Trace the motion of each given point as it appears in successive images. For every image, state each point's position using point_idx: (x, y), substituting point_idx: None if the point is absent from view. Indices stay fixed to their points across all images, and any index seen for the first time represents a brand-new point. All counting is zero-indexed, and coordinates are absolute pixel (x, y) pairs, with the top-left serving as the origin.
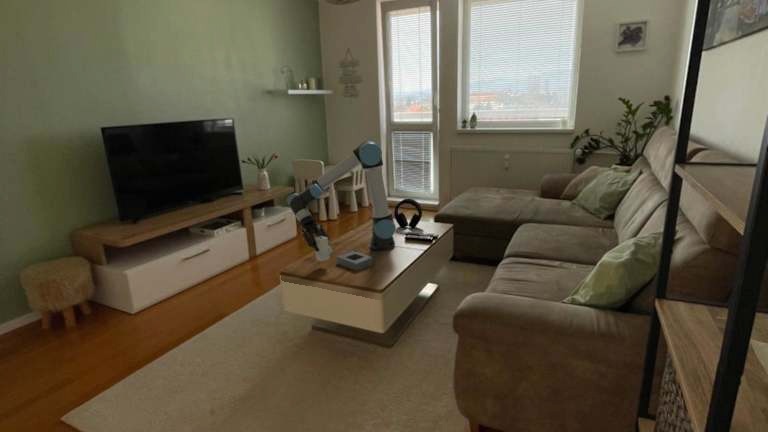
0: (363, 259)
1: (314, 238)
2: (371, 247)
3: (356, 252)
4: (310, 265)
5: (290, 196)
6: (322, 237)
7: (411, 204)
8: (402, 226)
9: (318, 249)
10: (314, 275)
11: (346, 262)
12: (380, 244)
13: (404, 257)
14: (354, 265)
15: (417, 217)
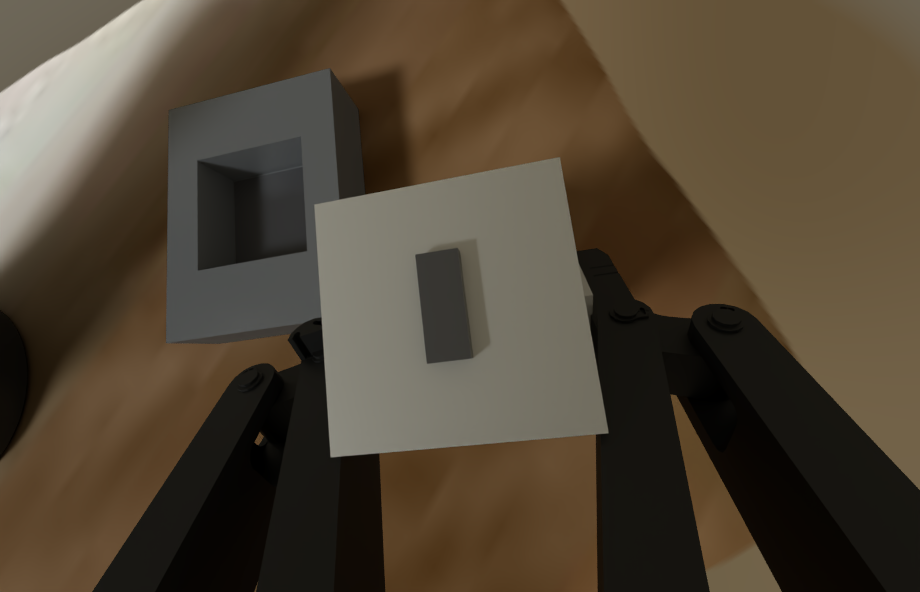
0: (239, 114)
1: (606, 428)
2: (11, 413)
3: (172, 289)
4: (568, 445)
5: None
6: (416, 273)
7: None
8: None
9: (577, 256)
10: (650, 216)
11: (348, 193)
12: None
13: (31, 130)
14: (342, 106)
15: None
